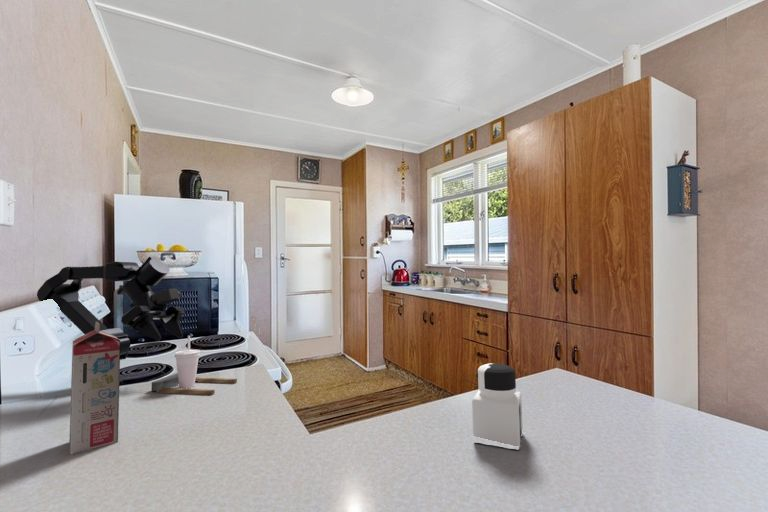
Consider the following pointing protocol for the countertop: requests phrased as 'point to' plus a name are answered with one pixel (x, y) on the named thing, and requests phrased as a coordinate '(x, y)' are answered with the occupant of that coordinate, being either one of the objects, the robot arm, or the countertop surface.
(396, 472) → the countertop surface
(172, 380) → the guide track
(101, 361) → the juice carton
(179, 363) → the smoothie
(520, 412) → the container
